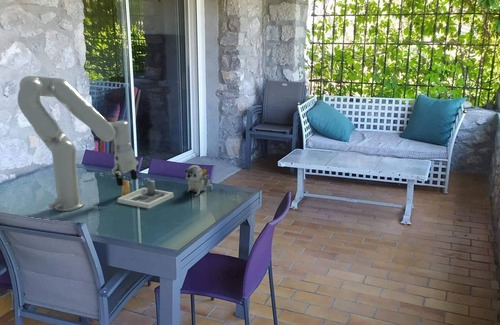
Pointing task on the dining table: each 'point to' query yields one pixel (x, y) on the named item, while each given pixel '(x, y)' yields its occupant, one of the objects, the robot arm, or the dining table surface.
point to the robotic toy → (197, 179)
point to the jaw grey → (151, 188)
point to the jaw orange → (125, 188)
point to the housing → (145, 198)
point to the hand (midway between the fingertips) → (127, 182)
